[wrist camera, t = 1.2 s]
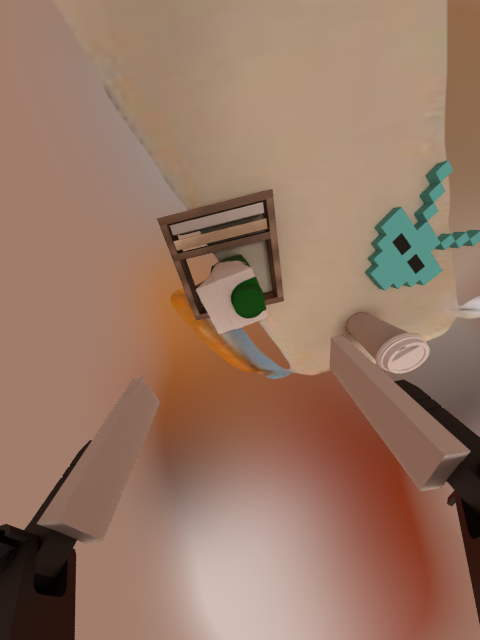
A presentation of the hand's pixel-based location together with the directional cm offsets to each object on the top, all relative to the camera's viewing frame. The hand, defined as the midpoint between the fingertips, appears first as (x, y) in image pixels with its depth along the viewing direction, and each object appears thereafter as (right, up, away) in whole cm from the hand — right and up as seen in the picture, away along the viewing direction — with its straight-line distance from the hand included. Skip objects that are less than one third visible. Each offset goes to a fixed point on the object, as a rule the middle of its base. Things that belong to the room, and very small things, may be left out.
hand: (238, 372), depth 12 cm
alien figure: (+39, +21, +27) cm, 51 cm away
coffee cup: (+33, +3, +35) cm, 48 cm away
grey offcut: (-4, +24, +22) cm, 33 cm away
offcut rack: (-2, +17, +26) cm, 31 cm away
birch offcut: (-4, +21, +23) cm, 32 cm away
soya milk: (-2, +14, +27) cm, 31 cm away
